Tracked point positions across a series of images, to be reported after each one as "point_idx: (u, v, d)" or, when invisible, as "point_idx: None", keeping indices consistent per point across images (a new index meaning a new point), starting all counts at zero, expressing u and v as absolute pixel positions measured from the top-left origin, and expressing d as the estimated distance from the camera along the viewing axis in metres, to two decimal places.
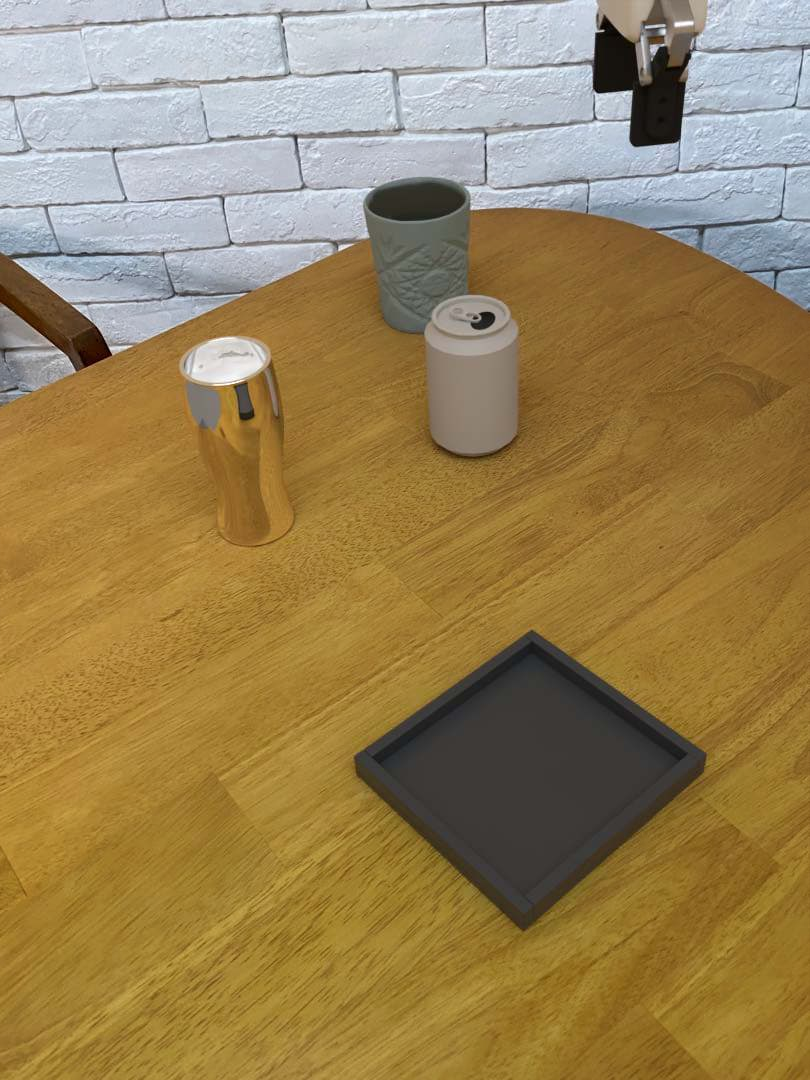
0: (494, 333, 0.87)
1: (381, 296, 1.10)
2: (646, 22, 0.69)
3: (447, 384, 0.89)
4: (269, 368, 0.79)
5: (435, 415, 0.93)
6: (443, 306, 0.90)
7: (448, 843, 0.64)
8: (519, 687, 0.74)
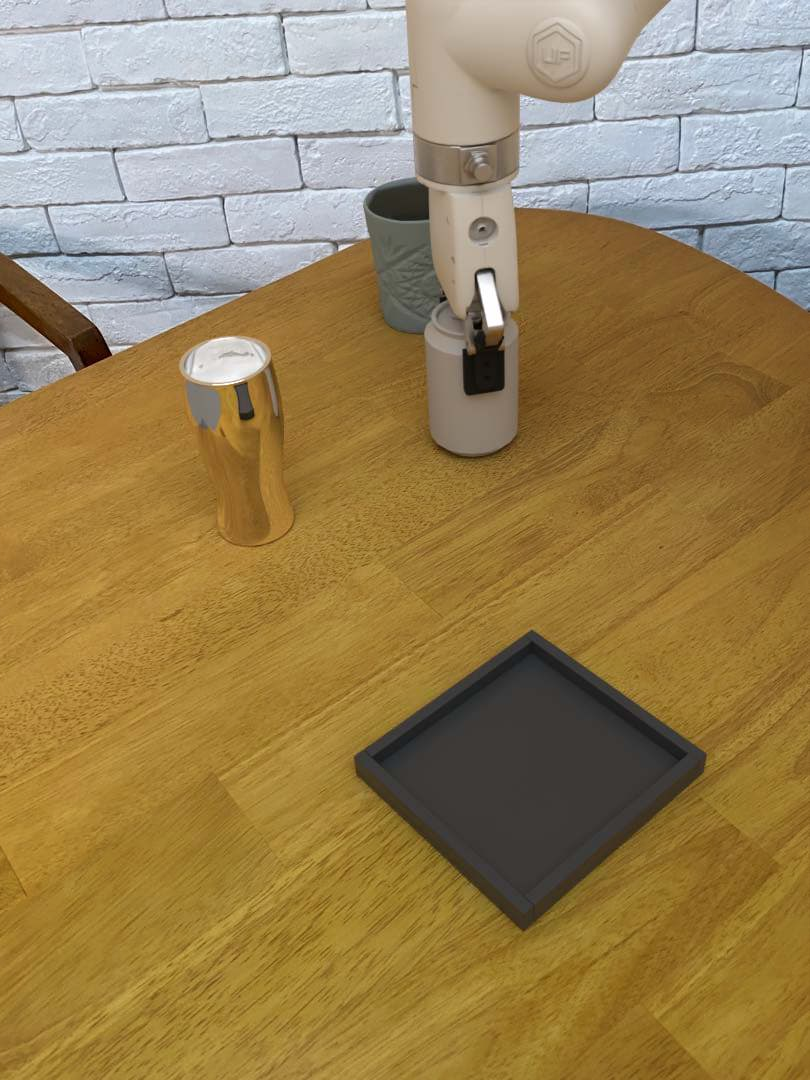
0: None
1: (381, 296, 1.10)
2: (472, 301, 0.84)
3: (446, 384, 0.89)
4: (269, 368, 0.79)
5: (435, 415, 0.93)
6: (443, 306, 0.90)
7: (448, 843, 0.64)
8: (519, 687, 0.74)
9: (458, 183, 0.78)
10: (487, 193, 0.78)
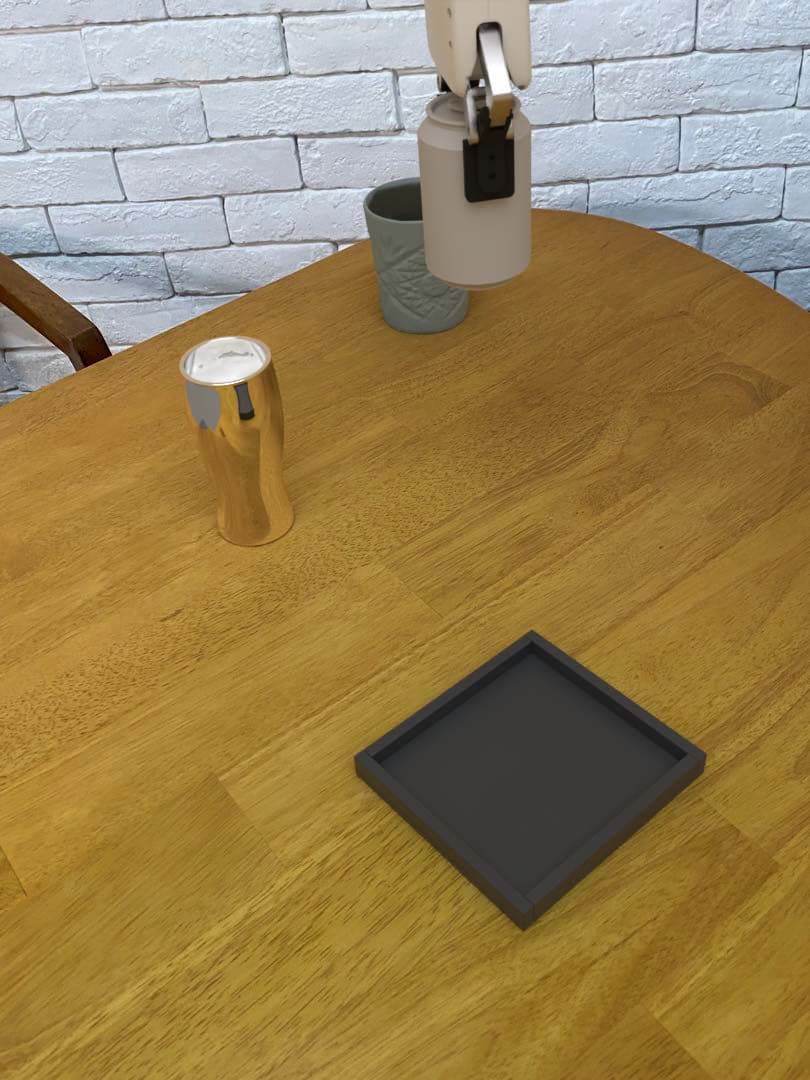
0: None
1: (381, 296, 1.10)
2: (473, 76, 0.69)
3: (444, 192, 0.74)
4: (269, 368, 0.79)
5: (431, 238, 0.77)
6: (440, 100, 0.75)
7: (448, 843, 0.64)
8: (519, 687, 0.74)
9: None
10: None
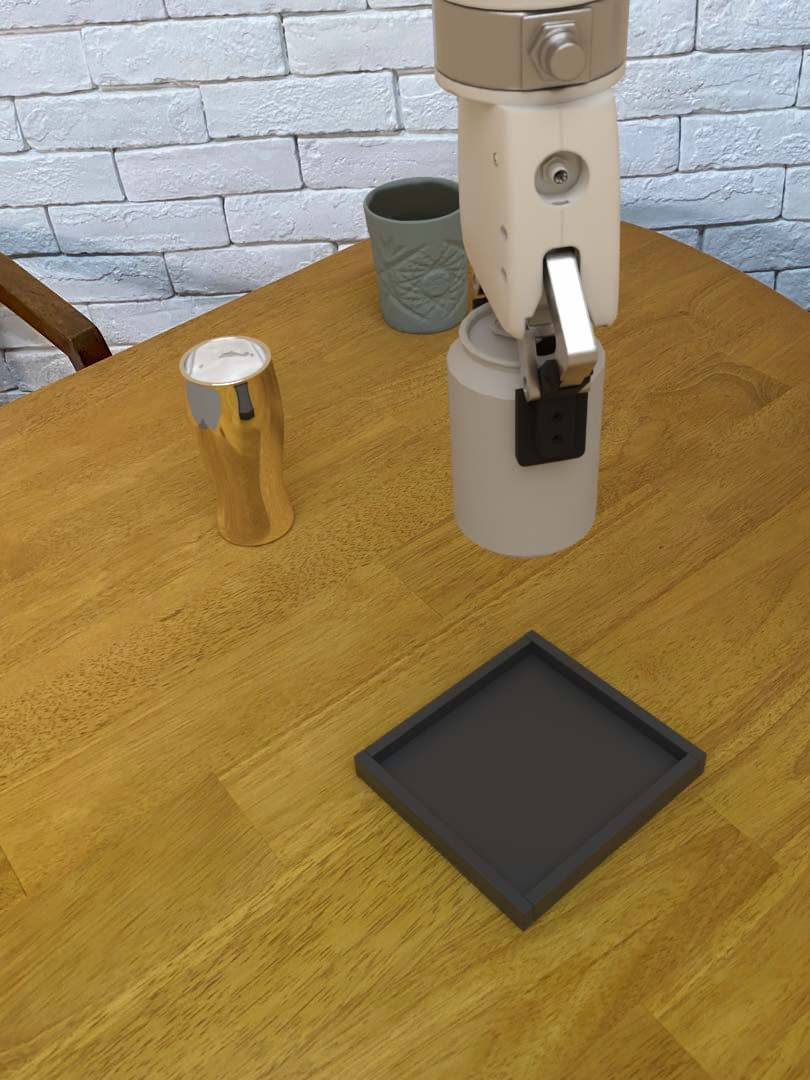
0: None
1: (381, 296, 1.10)
2: None
3: (484, 446, 0.53)
4: (269, 368, 0.79)
5: (463, 493, 0.56)
6: (478, 315, 0.54)
7: (448, 843, 0.64)
8: (519, 687, 0.74)
9: (517, 86, 0.42)
10: (571, 105, 0.42)
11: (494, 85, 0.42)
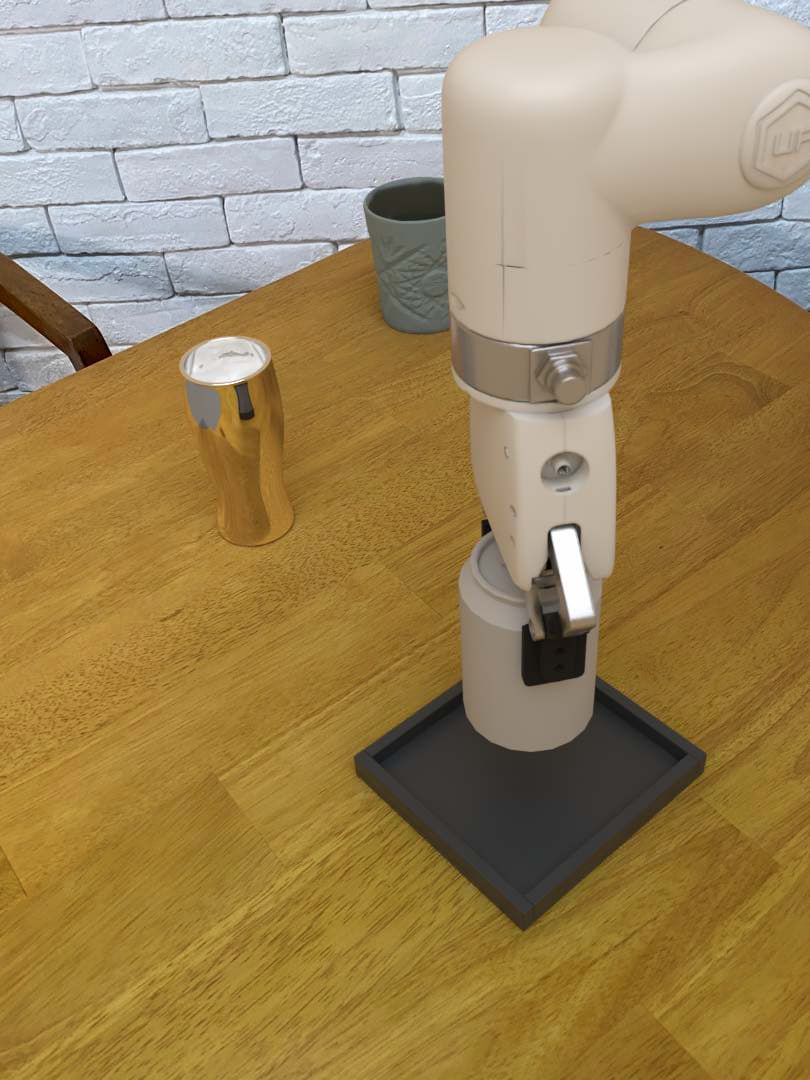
0: None
1: (381, 296, 1.10)
2: None
3: (493, 663, 0.59)
4: (269, 368, 0.79)
5: (473, 695, 0.62)
6: (487, 542, 0.59)
7: (448, 843, 0.64)
8: None
9: (525, 399, 0.47)
10: (573, 415, 0.47)
11: (505, 396, 0.47)
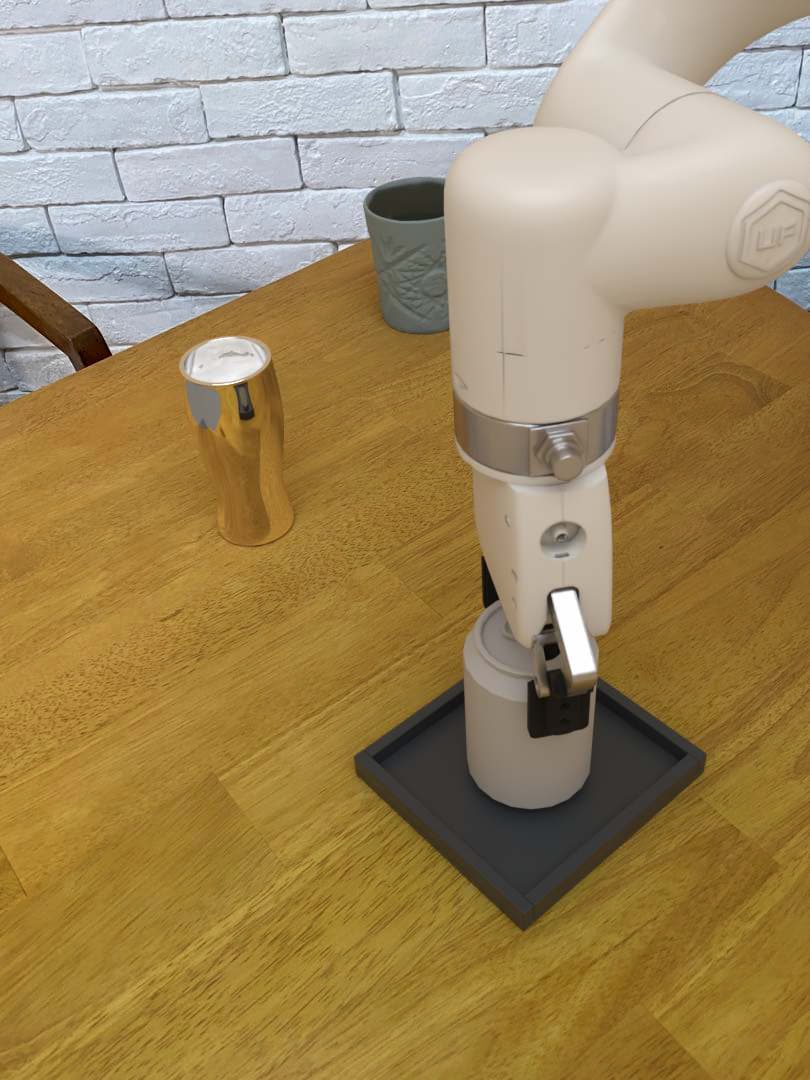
0: None
1: (381, 296, 1.10)
2: None
3: (495, 729, 0.62)
4: (269, 368, 0.79)
5: (476, 756, 0.65)
6: (490, 613, 0.63)
7: (448, 843, 0.64)
8: None
9: (525, 473, 0.50)
10: (571, 488, 0.50)
11: (506, 470, 0.50)
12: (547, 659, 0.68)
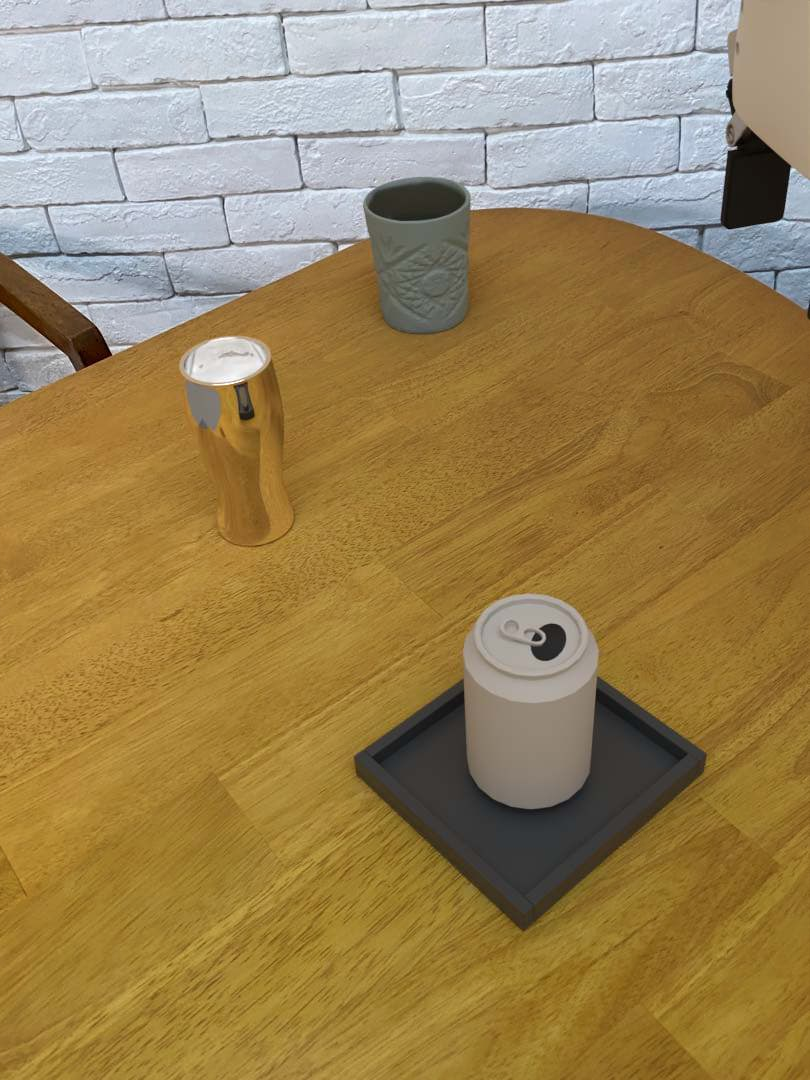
0: (566, 669, 0.60)
1: (381, 296, 1.10)
2: None
3: (495, 729, 0.62)
4: (269, 368, 0.79)
5: (476, 756, 0.65)
6: (490, 613, 0.63)
7: (448, 843, 0.64)
8: None
9: None
10: None
11: None
12: (547, 659, 0.68)
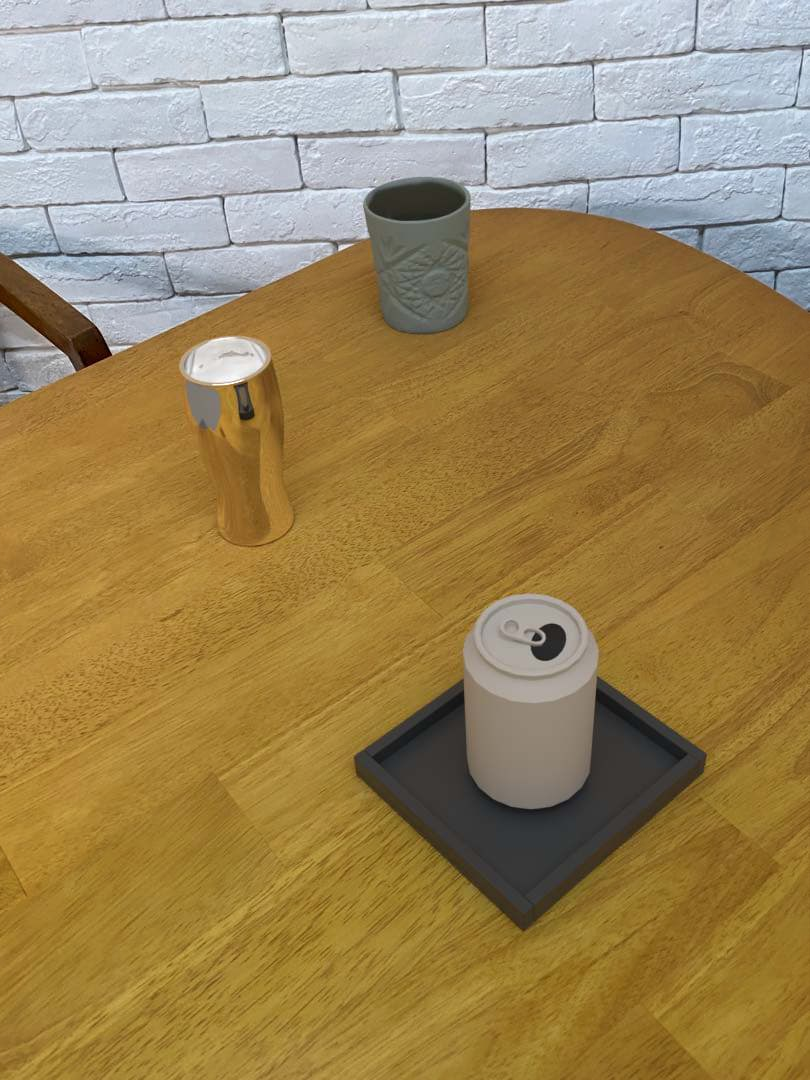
0: (566, 669, 0.60)
1: (381, 296, 1.10)
2: None
3: (495, 729, 0.62)
4: (269, 368, 0.79)
5: (476, 756, 0.65)
6: (490, 613, 0.63)
7: (448, 843, 0.64)
8: None
9: None
10: None
11: None
12: (547, 659, 0.68)
